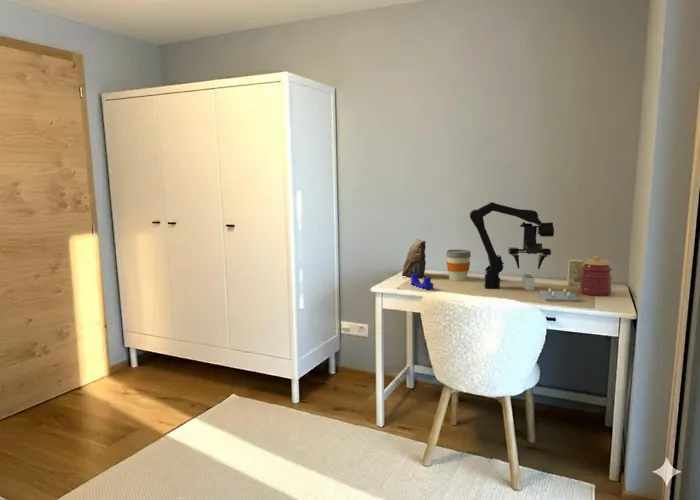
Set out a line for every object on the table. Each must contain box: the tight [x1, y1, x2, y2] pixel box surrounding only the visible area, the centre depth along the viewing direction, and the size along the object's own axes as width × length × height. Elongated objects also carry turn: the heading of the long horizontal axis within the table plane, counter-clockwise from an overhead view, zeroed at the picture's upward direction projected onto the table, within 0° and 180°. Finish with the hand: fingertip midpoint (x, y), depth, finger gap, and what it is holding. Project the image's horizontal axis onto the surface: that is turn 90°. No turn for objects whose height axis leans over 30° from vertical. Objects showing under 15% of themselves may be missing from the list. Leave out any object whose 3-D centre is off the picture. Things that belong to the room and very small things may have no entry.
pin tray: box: [538, 288, 582, 303], centre depth 226 cm, size 14×16×3 cm
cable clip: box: [410, 274, 434, 291], centre depth 249 cm, size 12×4×6 cm, turn 28°
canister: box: [579, 254, 613, 297], centre depth 232 cm, size 13×13×18 cm
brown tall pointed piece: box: [401, 238, 427, 279], centre depth 276 cm, size 13×13×20 cm
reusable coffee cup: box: [445, 249, 472, 282], centre depth 268 cm, size 13×13×15 cm
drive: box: [521, 273, 536, 291], centre depth 245 cm, size 4×9×6 cm, turn 171°
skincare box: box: [566, 259, 584, 287], centre depth 251 cm, size 6×4×12 cm
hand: (528, 268), depth 244 cm, fingers open, 9 cm apart
